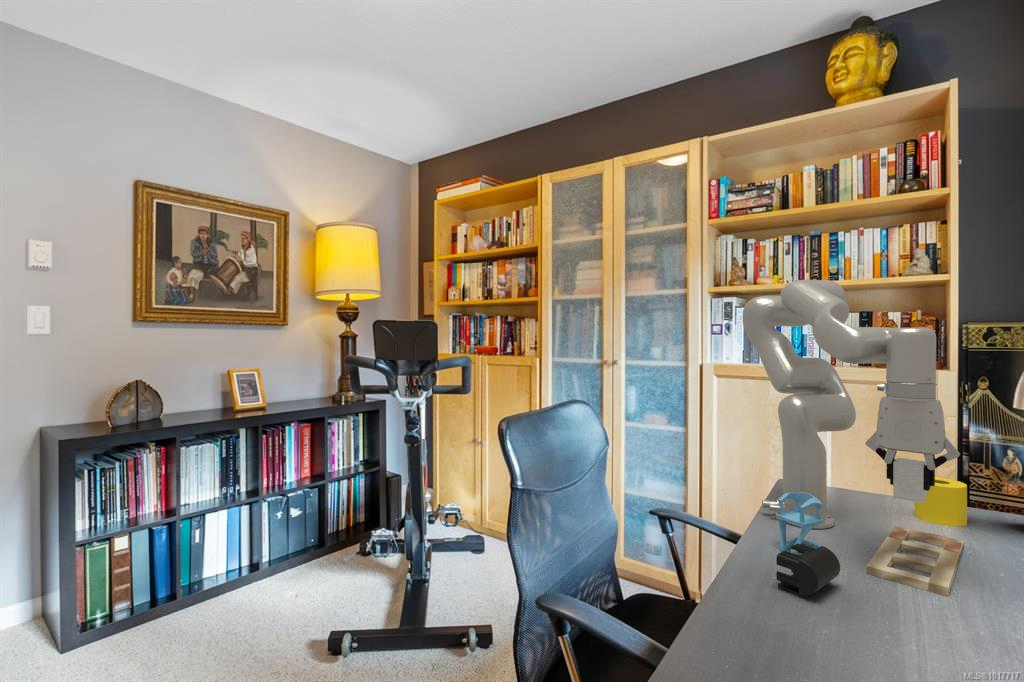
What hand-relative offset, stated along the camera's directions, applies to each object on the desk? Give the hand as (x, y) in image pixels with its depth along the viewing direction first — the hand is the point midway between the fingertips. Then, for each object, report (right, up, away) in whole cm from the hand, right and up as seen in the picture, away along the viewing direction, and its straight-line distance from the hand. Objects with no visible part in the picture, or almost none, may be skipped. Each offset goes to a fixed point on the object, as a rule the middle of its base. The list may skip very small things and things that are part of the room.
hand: (910, 485), depth 97 cm
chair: (-15, -17, +11) cm, 26 cm away
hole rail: (+6, -17, +6) cm, 19 cm away
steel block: (0, -2, 0) cm, 2 cm away
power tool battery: (-23, -18, -5) cm, 29 cm away
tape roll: (+31, -17, +29) cm, 46 cm away
